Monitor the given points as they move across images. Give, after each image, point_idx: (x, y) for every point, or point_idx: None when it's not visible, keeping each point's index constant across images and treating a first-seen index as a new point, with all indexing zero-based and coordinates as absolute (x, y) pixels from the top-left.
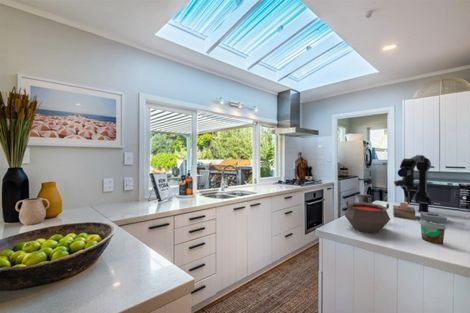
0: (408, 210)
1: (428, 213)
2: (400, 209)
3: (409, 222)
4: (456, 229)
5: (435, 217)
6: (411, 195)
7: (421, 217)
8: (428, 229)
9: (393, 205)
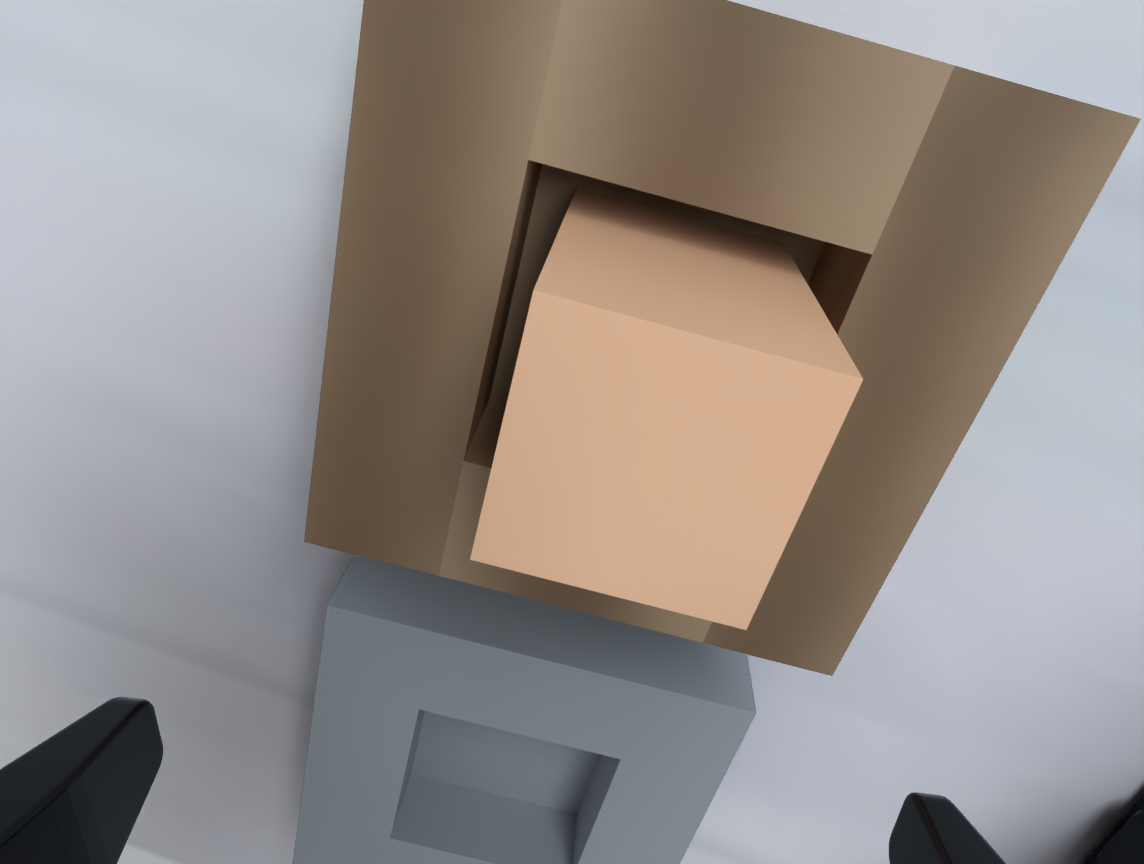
0: (327, 383)
1: (612, 780)
2: (350, 155)
3: (28, 184)
4: None
5: (312, 752)
6: None
7: None
8: None
9: (1067, 109)
